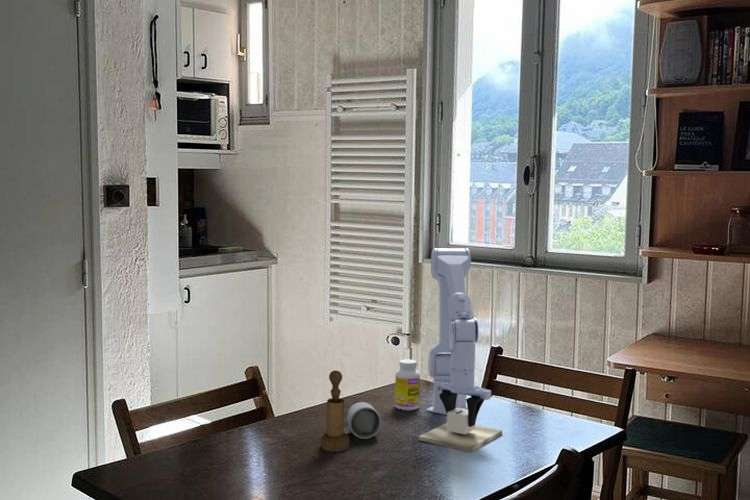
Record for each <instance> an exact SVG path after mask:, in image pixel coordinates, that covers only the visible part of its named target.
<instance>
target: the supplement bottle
mask: <svg viewBox="0 0 750 500" xmlns="http://www.w3.org/2000/svg"><path fill="white" fill-rule="evenodd" d="M417 363H418V361H416V360H415V359H411V358H410V359H401V360H399V369H397V370H396V371H395V380H394V381H395V382H394V384H395V385H394V387H395V388H394V389H395V390H394V406H395V408H396V409H399V410H400V409H401V411H414V410H418V409H419V408H420V393H421V392H420V391H421V390H420V388H421V383H420V382H421V374H420V371H419V370H418V369H417V368H416V367H417V366H418V364H417Z"/></svg>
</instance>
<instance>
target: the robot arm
mask: <svg viewBox="0 0 750 500" xmlns="http://www.w3.org/2000/svg"><path fill="white" fill-rule="evenodd" d="M471 256H472V255H471V251H470V249H469V248H468V247H464V248H445V247H443V248H441V247H440V248H437V247H433V249H432V250H431V254H430V274H431V278H433V279H434V280H437V283H438V287H439V289H438V290H439V296H438V297H439V302H438V303H439V310H438V311H439V314H438V315H439V326H438V327H439V331H438V332H439V339H438V341H437V342H436V343H435V344H433V345H432V346H430V348H429V350H428V359H427V360H428V361H427V369H428V374H429V376H430V377H431V378H433V390H432V391H433V395H432V396H433V398H432V399H433V400H432V401H433V402H432V406H431V407H427V408H426V411H427V412H431V413H436V414H441V415H445V416H447V412H449V411H451V410H453V409H455V408H457V407H458V408H463V409H468V426H469V427H472V426H474V425H476V421H477V417H478V414H479V412H480V410H481V407H482V406H483V404H484V402H485V400H486V401H488V400H490V399H491V398H492V390H490V389H486V388H484V387H480V386H477V385H475V376H476V375H475V373H476V372H475V369H476V343H478V339H479V323H478V319H477V317H476V315H474V313H473V306H472V300H471V297H470V296H469V295H467V294H466V289H465V287H466V286H465V285H466V284H465V278H466V276H467V275H468V273H469V271H470V269H471V266H472V257H471ZM467 396H469V397H468V398H467Z"/></svg>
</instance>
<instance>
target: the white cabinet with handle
mask: <svg viewBox="0 0 750 500" xmlns="http://www.w3.org/2000/svg"><path fill="white" fill-rule="evenodd" d="M446 423H447V431H452V432H456V433H461V434H467V433H469V432H471V431H473V430H474V429H475V425H476V424H475V425H474V426H472V427H469V426H468V409H463V408H458V407H457V408H455V409H453V410H451V411H449V412H447V415H446Z"/></svg>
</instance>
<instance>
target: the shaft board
mask: <svg viewBox="0 0 750 500" xmlns="http://www.w3.org/2000/svg"><path fill="white" fill-rule="evenodd" d="M502 435H503V430H502V429H498V428H492V427H487V426H483V425H478V424H475V429H474V430H473V431H471V432H469V433H467V434H461V433H456V432H452V431H447V422H445V423H443V424H442V425H439V426H437V427H435V428H433V429H431V430H429V431H427V432H425V433H422V434H420V435H419V436H418V440H419V441H422V442H425V443H430V444H434V445H439V446H443V447H447V448H451V449H456V450H460V451H464V452H469V453H472V452H474V451H475V450H477V449H479V448H480V447H483V446H485V445H486V444H488V443H489V442H491V441H493V440H495V439H496V438H498V437H500V436H502Z"/></svg>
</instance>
